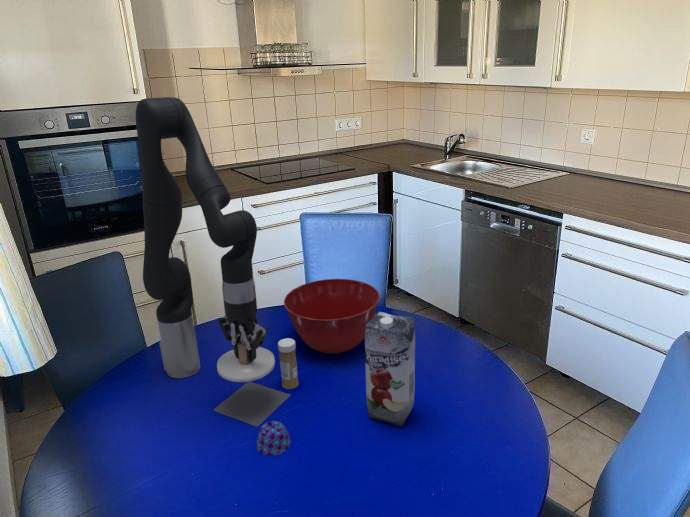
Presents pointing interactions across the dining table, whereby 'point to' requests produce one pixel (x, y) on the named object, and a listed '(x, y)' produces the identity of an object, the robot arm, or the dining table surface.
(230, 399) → the mat
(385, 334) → the juice carton
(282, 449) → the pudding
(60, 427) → the dining table surface
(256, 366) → the lid
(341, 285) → the mixing bowl
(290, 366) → the sprinkles bottle
